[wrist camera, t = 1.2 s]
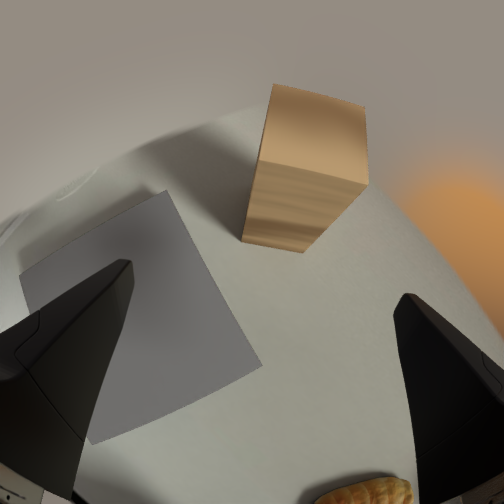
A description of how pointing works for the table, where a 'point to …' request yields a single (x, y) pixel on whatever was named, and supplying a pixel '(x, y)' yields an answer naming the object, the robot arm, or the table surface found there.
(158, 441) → the table surface
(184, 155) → the table surface
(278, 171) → the oak block
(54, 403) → the robot arm
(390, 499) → the pastry
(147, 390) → the plinth
